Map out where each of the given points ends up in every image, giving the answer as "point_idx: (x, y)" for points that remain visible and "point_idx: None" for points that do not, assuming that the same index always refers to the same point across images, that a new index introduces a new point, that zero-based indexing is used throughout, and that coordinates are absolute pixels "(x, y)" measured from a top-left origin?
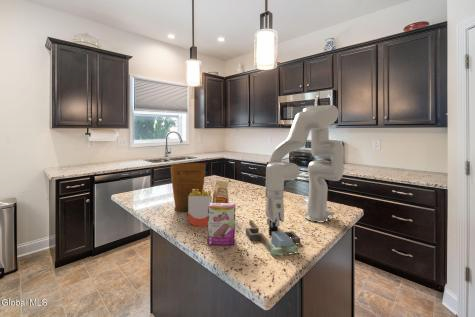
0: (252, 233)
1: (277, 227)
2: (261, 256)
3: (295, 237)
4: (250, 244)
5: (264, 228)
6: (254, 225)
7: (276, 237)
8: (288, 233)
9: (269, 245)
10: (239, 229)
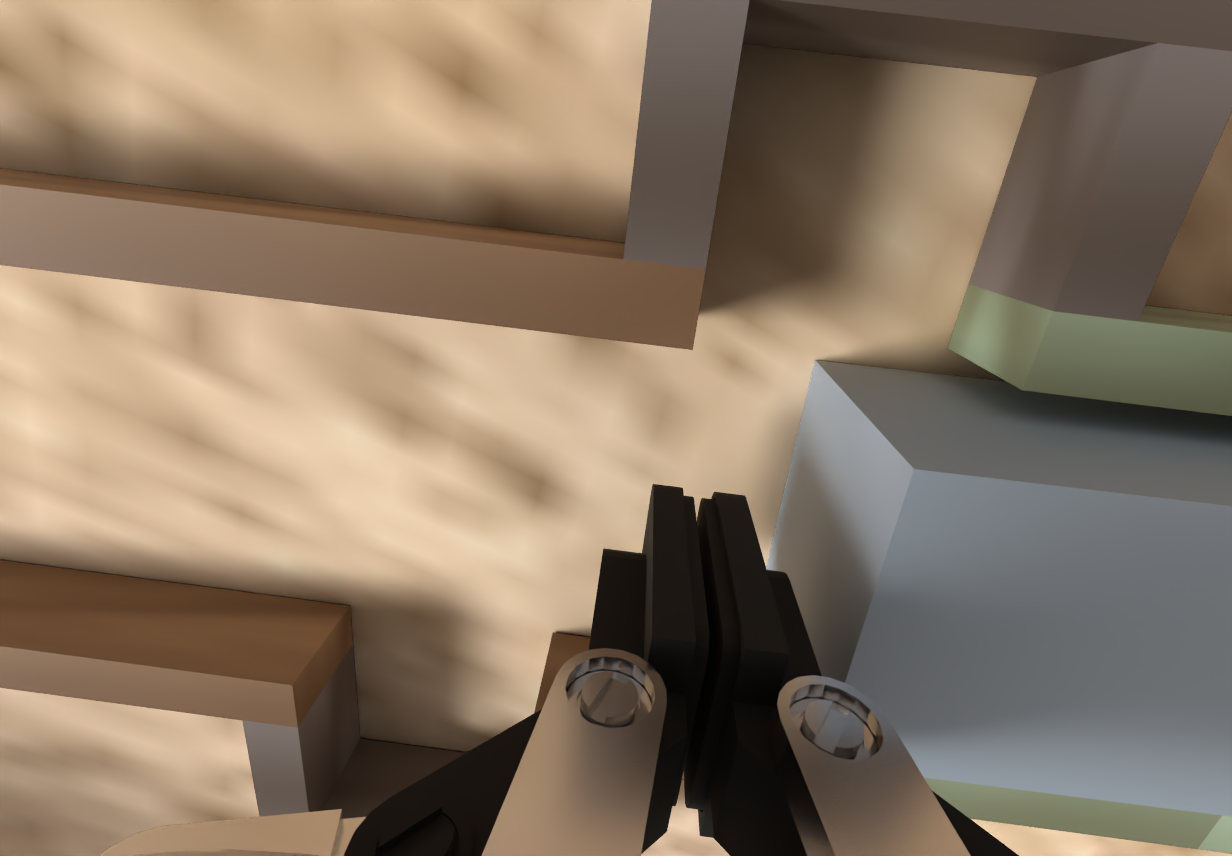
0: (350, 702)
1: (783, 637)
2: (1069, 849)
3: (1082, 40)
4: (694, 832)
5: (95, 397)
6: (128, 694)
7: (1150, 792)
8: (729, 105)
9: (1093, 831)
10: (154, 778)
